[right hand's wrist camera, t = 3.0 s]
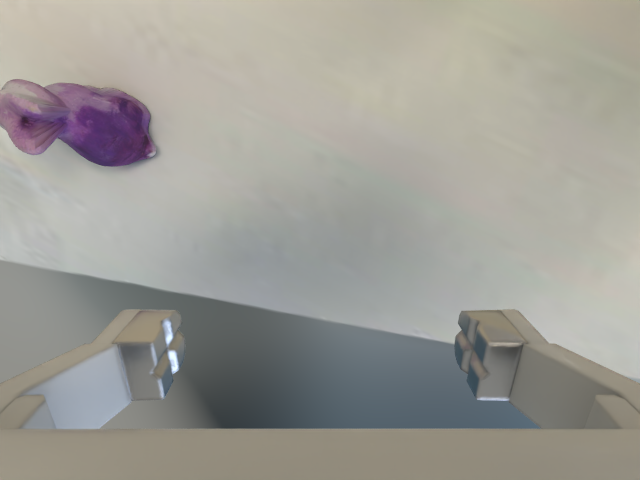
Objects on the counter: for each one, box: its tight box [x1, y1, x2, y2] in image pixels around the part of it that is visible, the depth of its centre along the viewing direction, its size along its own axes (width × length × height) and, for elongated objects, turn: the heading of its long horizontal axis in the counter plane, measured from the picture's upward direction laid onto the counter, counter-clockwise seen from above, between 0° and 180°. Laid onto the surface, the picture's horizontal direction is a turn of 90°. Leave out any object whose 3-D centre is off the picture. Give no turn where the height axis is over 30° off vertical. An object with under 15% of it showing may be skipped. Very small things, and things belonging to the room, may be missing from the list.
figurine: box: [0, 79, 156, 166], centre depth 35 cm, size 9×10×15 cm
